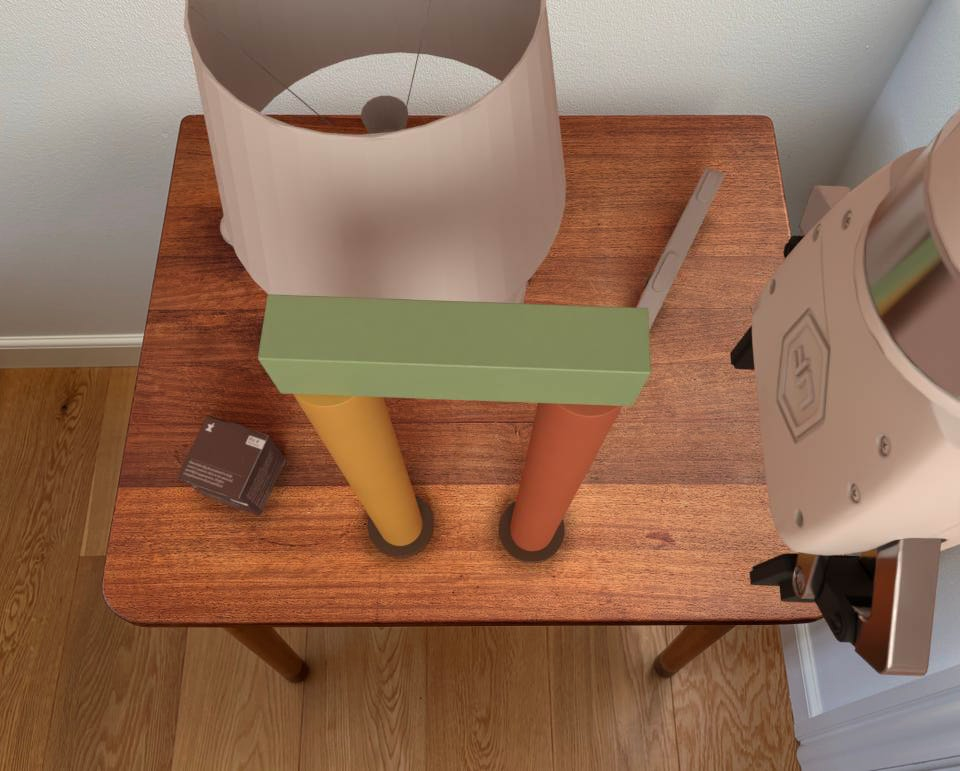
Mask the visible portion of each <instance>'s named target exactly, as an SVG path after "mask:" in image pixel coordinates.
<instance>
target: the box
mask: <svg viewBox="0 0 960 771" xmlns="http://www.w3.org/2000/svg"><path fill="white" fill-rule="evenodd" d="M286 460H287V457H285V455H284V454H283V453H282V452H281V450H280V449H279V447H278V446H277V445H276V444H275V443H274V441H273V439H271V437H270V435H268V434H265V433H262V432H261V431H260V432H259V431H256V430H254V429H251V428H248V427H245V426H242V425H241V424H238V423H234V422H231V421H227V420H224V419H222V418H219V417H216V416H213V415H210V414H209V415H206V416H205V419H204V421H203V423H202V424H201V427H200V429H199V430H198V432H197V435H196V437H195V439H194V441H193V443H192V444H191V447H190V449H189V451H188V452H187V455H186V456H185V459H184V460H183V463H182V464H181V466H180V469H179V470H178V472H177V474H176V477H177V478H179V479H181V480H182V481H183V482H185V483H186V484H187V485H188V486H190V487H191V488H192V489H194V490H196V491H197V492H198V493H200V494H201V495H203V496H204V497H206V498H207V499H211V500H214V501H216V502H219V503H222V504H224V505H227V506H229V507H232V508H235V509H238V510H242V511H244V512H246V513H249V514H252V515H256V516H258V517H260V516H261V515H262V514H263V512H264V510H265V508H266V506H267V503H268V501H269V498H270V496H271V493H272V491H273V489H274V486H275V485H276V482H277V480H278V478H279V476H280V474H281V471H282V470H283V468H284V465H285V463H286Z"/></svg>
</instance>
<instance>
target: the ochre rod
mask: <svg viewBox="0 0 960 771" xmlns="http://www.w3.org/2000/svg"><path fill="white" fill-rule="evenodd" d="M292 395H293V396H294V398H295V400H296V402H297V403H298V405H299V406H300V408H301V409H302V411H303V413H304V414H305V416H306V417H307V419H308V421H309V422H310V424H311V426H312V427H313V428H314V430H315V432H316V433H317V435H318V436H319V438H320V440H321V441H322V443H323V445H324V446H325V448H326V449H327V451H328V452H329V454H330V456H331V457H332V459H333V461H334V463H335V464H336V465H337V467H338V469H339V470H340V472H341V473H342V474H343V476H344V479H345V480H346V481H347V483H348V485H349V486H350V488H351V489H352V491H353V493H355V495H356V497H357V499H358V501H359V502H360V504H361V505H362V507H363V508H364V510H365V512H366V513H367V515H368V520H367V531H368V535H369V538H370V540H371V542H372V544H373V545H374V546H375V548H376V549H377V550H378V551H379V552H380V553H382V554H383V555H385V556H386V557H387V556H388V557H390V558H393V559H406V558H411V557H413V556H416V555H417V554H419V553H421V552H422V551H423V550H424V549H425V548H426V547H427V546H428V544H429V543H430V541H431V539H432V536H433V534H434V529H435V520H434V515H433V512H432V509H431V508H430V506H429V504H428V503H427V502H426V501H425V500H424V499H423V498H421V497H420V496H418V495H417V494H415V492H414V488H413V486H412V482H411V479H410V475H409V473H408V470H407V466H406V464H405V460H404V456H403V454H402V450H401V448H400V444H399V441H398V438H397V435H396V432H395V429H394V426H393V421H392V419H391V415H390V413H389V410H388V406H387V403H386V401H385V397H368V396H341V395H314V394H292Z"/></svg>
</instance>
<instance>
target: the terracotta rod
mask: <svg viewBox="0 0 960 771" xmlns="http://www.w3.org/2000/svg"><path fill="white" fill-rule="evenodd" d="M622 408H623V406H610V405H583V404H556V403H536V410H535V413H534V418H533V421H532V428H531V431H530V434H529V435H530V436H529V440H528V444H527V449H526V454H525V458H524V461H523V467H522V471H521V476H520V481H519V485H518V490H517V494H516V498H515V501H513V502H512V503H510V504H509V505H508V506H507V507H506V508H505V510H503V512H502V515H501V517H500V520H499V524H498V536H499V540H500V543H501V544H502V547H503V549H504V550H505V551H506V553H507V554H508V555H509V556H510V557H512V558H513V559H514V560H516V561H518V562H521V563H524V564H530V565H531V564H532V565H533V564H540V563H543V562H547V561H548V560H550V559H551V558H552V557H553V556H555V555H556V554H557V552H559V549H561V547H562V544H563V542H564V539H565V532H566V531H565V529H566V528H565V527H566V526H565V524H564V523H565V522H564V517H565V516H566V513H567V511H568V510H569V508H570V506H571V504H572V502H573V500H574V499H575V496H576V495H577V493H578V490H579V489H580V487H581V485H582V483H583V481H584V479H585V477H586V476H587V474H588V472H589V470H590V468H591V466H592V464H593V462H594V461H595V459H596V457H597V455H598V454H599V451H600V449H601V447H602V445H603V444H604V442H605V440H606V438H607V436H608V434H609V432H610V431H611V428H612V427H613V425H614V423H615V421H616V420H617V417H618V415H619V413H620V412H621V410H622Z"/></svg>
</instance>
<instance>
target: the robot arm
mask: <svg viewBox="0 0 960 771" xmlns="http://www.w3.org/2000/svg"><path fill="white" fill-rule="evenodd" d="M798 229H799V230H800V231H799V235H792V236H790V238H789V239H788V240H787V242H786V243H785V245H784V247H783V257H784V258H783V261H781V263H780V264H779V266H778V267H776V269H775V271H774V272H773V273H772V274H771V276H770V277H769V279H768V280H767V281H766V283H765V284H764V285H763V287H762V288H761V290H760V292H759V293H758V295H757V297H756V299H755V301H754V305H753V309H752V315H751V316H752V318H751V325H750V327H748V329H747V330H746V332H744V334H743V336H741V338H740V339H739V340H738V342H737V343H736V344H735V346H734V347H733V349H731V351H730V353H729V359H730V364H731V366H732V367H733V368H734V369H736V370H748V371H754V376H755V390H756V398H757V410H758V419H759V420H758V421H759V429H760V439H761V440H760V441H761V448H762V457H763V466H764V475H765V484H766V492H767V500H768V506H769V512H770V516H771V520H772V523H773V526H774V529H775V531H776V533H777V534H778V537H779V539H780V540H781V542H782V543H783V544H784V546H786V547H787V548H788V549H789V550H791V551H792V552H789V553H787V552H786V553H781V554H778V555H776V556H774V557H772V558H769V559H766V560H764V561H763V562H760V563H757V564H755V565H752V567H751V569H752V570H750V571H749V572H748V573H749V585H751V586H760V587H763V586H764V587H778V588H779V597H780V598H779V599H780V602H785V603H804V604H806V603H815V605H816V606H817V609H818V610H819V612H820V614H821V616H822V617H823V619H824V620H825V622H826V624H827V626H828V627H829V630H830V631H831V633H832V634H833V636H834V638H835V639H836V640H837V642H838V643H848V644H849V643H850V644H851V645H852V646H853V648H854V652H855V653H856V654H857V655H858V656H859V657H860V658H861V659H863V661H864V662H866V663H867V664H868V665H869V666H870V667H871V668H872V669H873V670H874V671H875V672H876V673H877V674H879V675H881V676H900V677H901V676H903V677H904V676H905V677H924V676H926V674H927V673H928V671H929V667H930V666H929V665H930V655H931V646H932V635H933V627H934V626H933V625H934V617H935V606H936V598H937V589H938V588H937V586H938V578H939V568H940V560H941V559H940V557H941V552H942V551H945V550H947V549H950V548H953V547H956V546H958V545H960V107H959V108H958V109H957V111H956V112H955V113H954V114H953V115H952V116H950V118H949V119H948V120H947V121H946V123H944V125H943V126H942V127H941V128H940V129H939V131H938V132H937V133H936V134H935V135H934V137H933V138H932V139H931V140H930V141H929V143H928V144H927V145H924V146H920V147H916V148H914V149H911V150H909V151H906V152H905V153H903V154H902V155H900V156H899V157H897V158H896V159H894V160H892V161H891V162H889V163H888V164H887V165H885V166H883V167H882V168H879V169H878V170H877V171H875V173H873V174H872V175H870V176H869V177H867V178H866V179H865V180H864V181H862V182H861V183H860V184H858V185H857V186H856V187H855V188H853V189H851V188H850V187H849V186H845V185H844V186H843V185H841V186H840V185H814V186H812V188H811V189H810V191H809V194H808V197H807V200H806V203H805V206H804V209H803V212H802V215H801V218H800V221H799V224H798ZM793 552H794V553H793ZM859 553H860V555H852V554H859ZM850 554H851V555H850Z"/></svg>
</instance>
